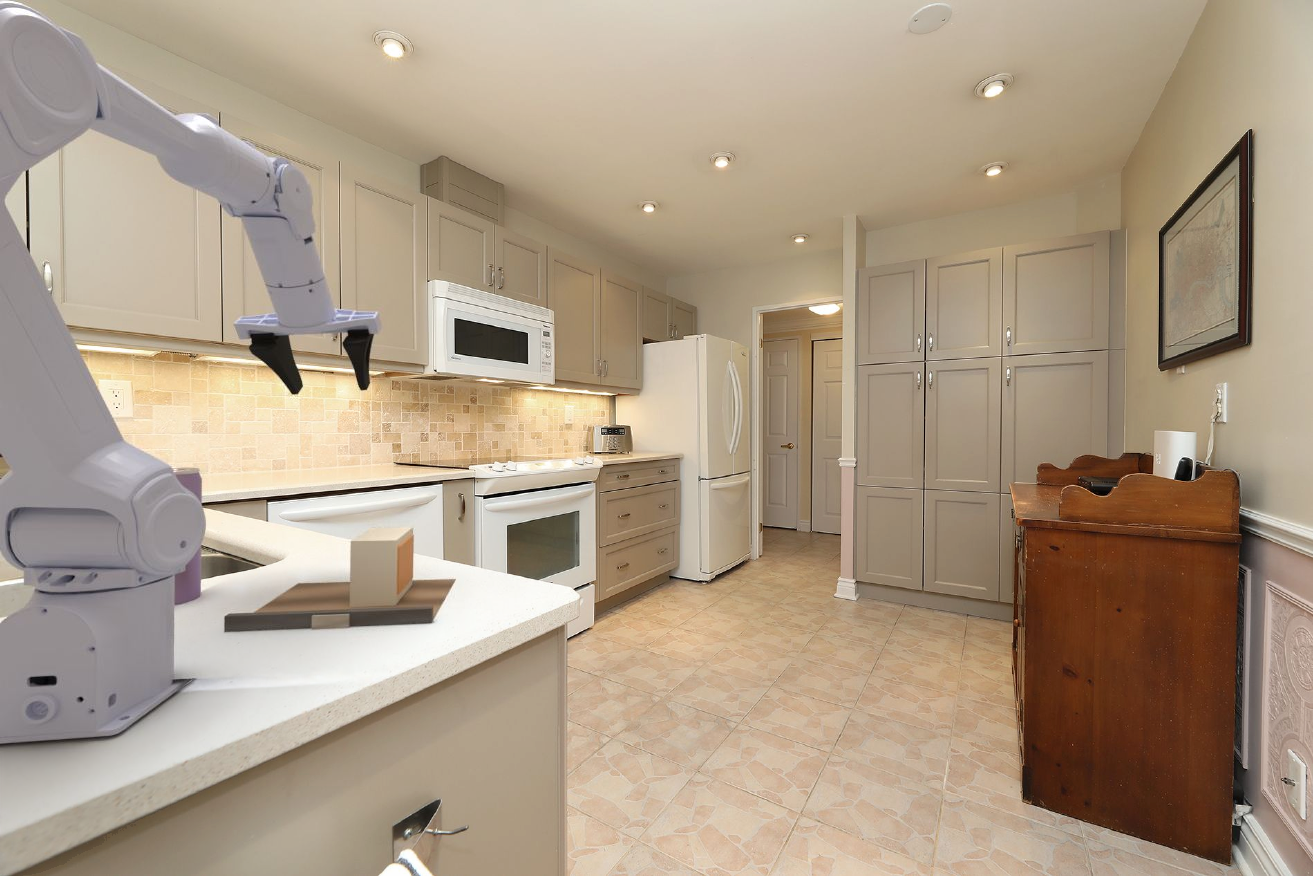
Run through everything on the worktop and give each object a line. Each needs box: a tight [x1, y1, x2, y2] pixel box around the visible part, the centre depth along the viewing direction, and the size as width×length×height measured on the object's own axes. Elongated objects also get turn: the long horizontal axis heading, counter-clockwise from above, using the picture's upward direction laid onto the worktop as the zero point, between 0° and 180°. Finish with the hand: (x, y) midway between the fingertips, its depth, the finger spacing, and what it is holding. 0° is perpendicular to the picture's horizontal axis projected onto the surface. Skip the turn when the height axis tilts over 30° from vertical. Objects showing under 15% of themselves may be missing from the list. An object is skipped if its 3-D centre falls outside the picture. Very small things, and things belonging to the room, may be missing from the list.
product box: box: [349, 526, 415, 607], centre depth 64 cm, size 5×8×7 cm, turn 12°
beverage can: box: [171, 466, 203, 606], centre depth 60 cm, size 6×6×15 cm
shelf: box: [223, 578, 457, 633], centre depth 61 cm, size 16×18×2 cm
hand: (331, 388), depth 69 cm, fingers open, 7 cm apart
